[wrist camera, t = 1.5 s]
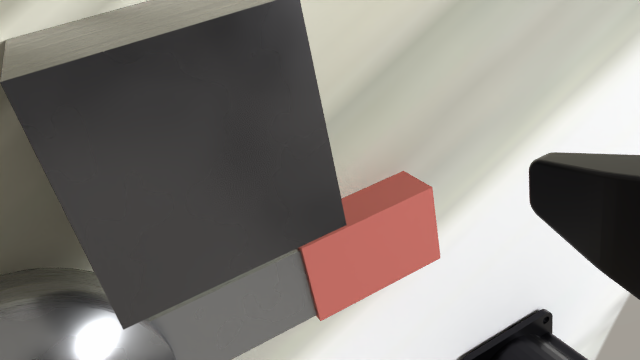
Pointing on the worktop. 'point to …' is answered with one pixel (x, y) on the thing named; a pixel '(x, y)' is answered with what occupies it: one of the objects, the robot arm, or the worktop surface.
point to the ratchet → (229, 290)
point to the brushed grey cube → (178, 141)
